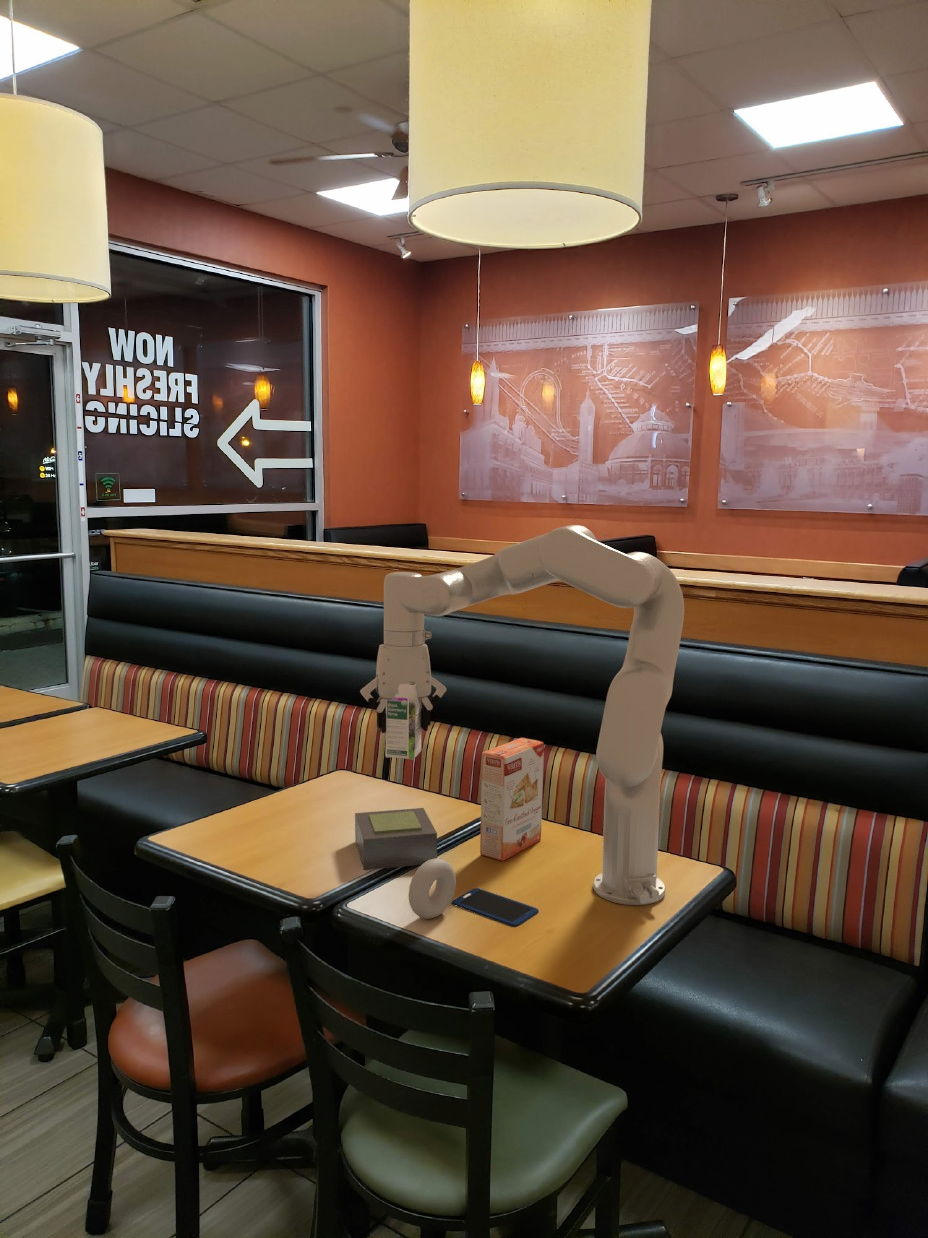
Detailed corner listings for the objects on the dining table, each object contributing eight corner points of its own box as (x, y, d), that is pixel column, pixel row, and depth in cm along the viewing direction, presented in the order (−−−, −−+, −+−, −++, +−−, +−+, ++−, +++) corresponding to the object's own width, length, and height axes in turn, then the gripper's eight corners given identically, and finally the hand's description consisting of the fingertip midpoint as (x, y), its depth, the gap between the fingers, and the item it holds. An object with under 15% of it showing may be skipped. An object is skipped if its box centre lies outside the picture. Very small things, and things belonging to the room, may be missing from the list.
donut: (419, 931, 146) (418, 872, 145) (404, 924, 149) (403, 866, 147) (460, 909, 154) (460, 853, 152) (445, 903, 156) (445, 848, 155)
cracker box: (504, 863, 173) (505, 757, 170) (478, 855, 176) (479, 751, 173) (543, 840, 184) (545, 740, 181) (518, 834, 187) (520, 735, 184)
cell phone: (475, 891, 162) (475, 887, 162) (540, 913, 153) (540, 909, 153) (449, 905, 156) (449, 901, 156) (515, 930, 148) (516, 925, 147)
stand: (437, 863, 173) (437, 831, 172) (363, 870, 169) (363, 837, 168) (423, 835, 186) (423, 806, 185) (355, 841, 183) (354, 811, 182)
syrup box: (384, 758, 170) (384, 682, 168) (393, 749, 176) (393, 676, 174) (413, 760, 169) (414, 684, 167) (422, 751, 175) (422, 677, 173)
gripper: (444, 633, 175) (444, 723, 178) (354, 636, 171) (355, 727, 173) (453, 640, 168) (452, 733, 170) (360, 643, 164) (360, 738, 166)
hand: (403, 729), depth 172 cm, fingers closed on syrup box, 7 cm apart
